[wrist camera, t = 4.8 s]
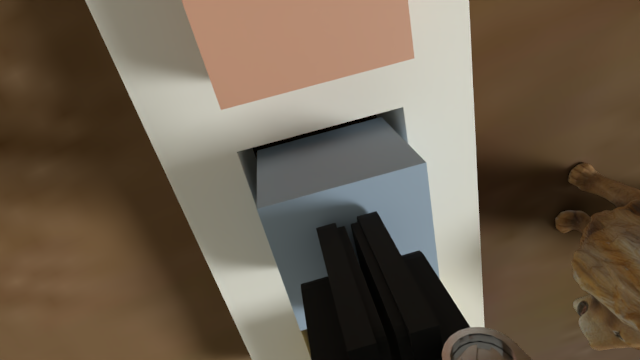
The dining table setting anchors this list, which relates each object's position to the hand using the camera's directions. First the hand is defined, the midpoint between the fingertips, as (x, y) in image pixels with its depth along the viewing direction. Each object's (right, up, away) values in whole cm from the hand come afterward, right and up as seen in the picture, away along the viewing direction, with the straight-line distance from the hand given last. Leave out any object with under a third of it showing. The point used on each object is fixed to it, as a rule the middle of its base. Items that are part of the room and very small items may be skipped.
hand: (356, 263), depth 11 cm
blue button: (0, +2, +4) cm, 4 cm away
